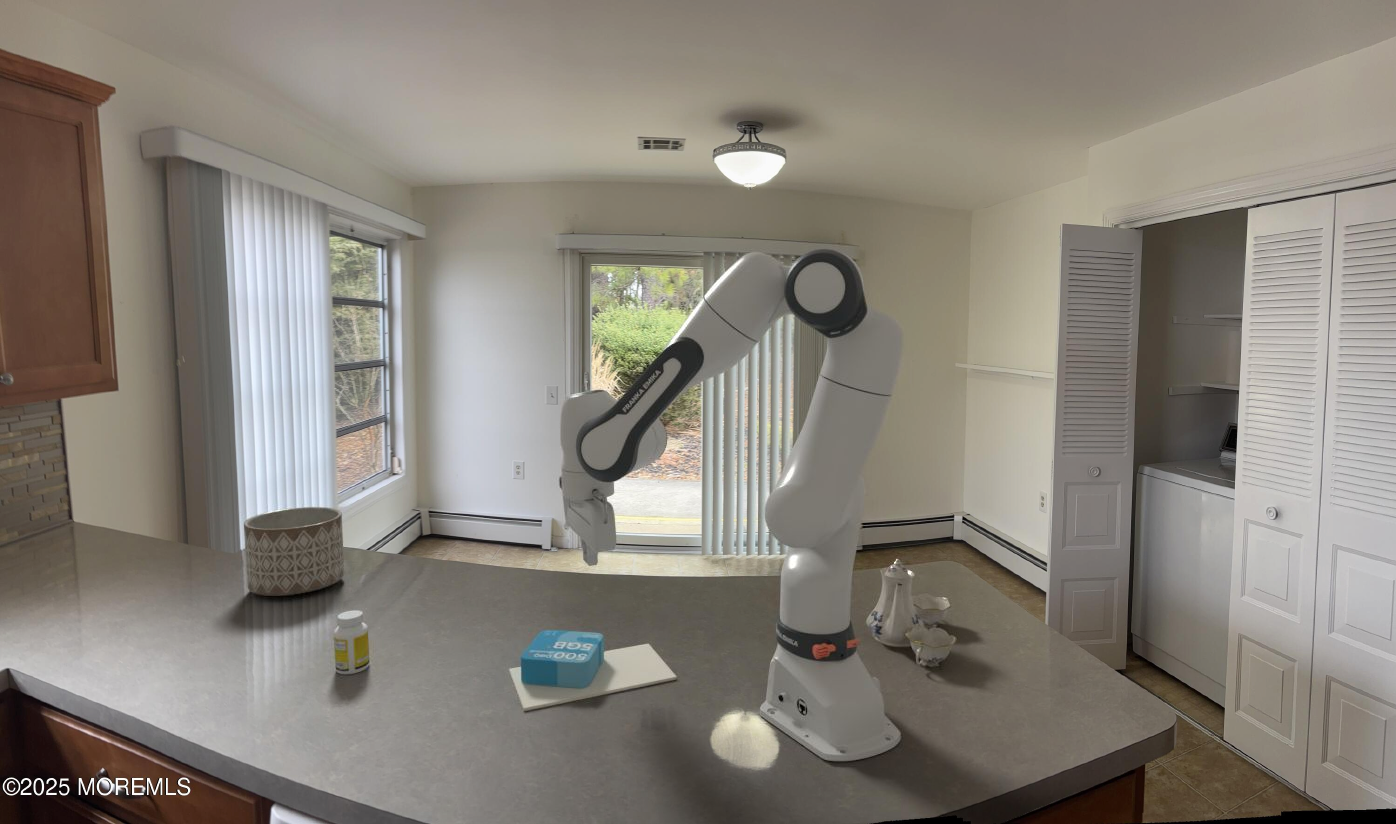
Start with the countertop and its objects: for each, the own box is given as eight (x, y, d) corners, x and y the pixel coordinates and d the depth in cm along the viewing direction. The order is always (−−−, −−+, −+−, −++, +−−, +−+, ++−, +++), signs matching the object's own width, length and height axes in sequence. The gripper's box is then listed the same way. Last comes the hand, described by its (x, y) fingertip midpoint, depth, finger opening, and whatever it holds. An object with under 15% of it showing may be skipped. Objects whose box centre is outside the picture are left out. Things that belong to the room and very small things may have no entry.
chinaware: (962, 688, 122) (978, 598, 119) (865, 668, 125) (879, 580, 123) (941, 623, 149) (954, 549, 147) (862, 608, 152) (874, 535, 150)
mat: (676, 679, 120) (676, 676, 120) (523, 711, 109) (523, 708, 109) (648, 646, 132) (648, 643, 132) (509, 671, 122) (509, 668, 122)
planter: (262, 576, 167) (258, 509, 165) (351, 569, 172) (348, 504, 171) (235, 607, 148) (231, 532, 147) (336, 597, 154) (332, 525, 152)
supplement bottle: (370, 658, 126) (368, 606, 125) (368, 672, 121) (366, 618, 120) (337, 663, 124) (334, 610, 123) (333, 677, 119) (330, 622, 118)
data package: (605, 632, 126) (587, 663, 114) (605, 656, 127) (587, 689, 115) (542, 628, 128) (517, 658, 116) (542, 652, 128) (518, 684, 116)
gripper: (624, 494, 111) (626, 578, 112) (590, 473, 129) (592, 545, 131) (586, 498, 108) (588, 584, 110) (556, 476, 127) (559, 550, 128)
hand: (590, 563), depth 120 cm, fingers closed
